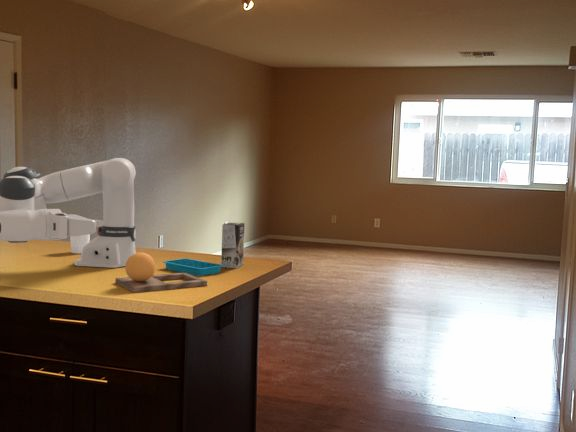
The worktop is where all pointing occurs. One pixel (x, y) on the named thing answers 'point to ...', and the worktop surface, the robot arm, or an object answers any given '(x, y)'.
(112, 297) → the worktop surface
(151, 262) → the ball
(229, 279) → the worktop surface
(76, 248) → the white cup
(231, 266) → the coffee box
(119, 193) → the robot arm
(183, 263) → the ice cube tray
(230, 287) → the worktop surface
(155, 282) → the walnut board
